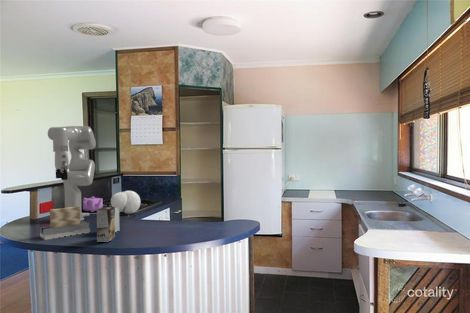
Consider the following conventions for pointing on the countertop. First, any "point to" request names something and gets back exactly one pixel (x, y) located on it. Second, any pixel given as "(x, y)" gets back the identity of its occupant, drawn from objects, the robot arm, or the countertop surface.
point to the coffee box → (105, 224)
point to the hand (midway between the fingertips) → (61, 179)
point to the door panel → (64, 217)
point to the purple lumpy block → (92, 204)
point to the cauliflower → (126, 202)
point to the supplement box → (117, 220)
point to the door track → (64, 230)
